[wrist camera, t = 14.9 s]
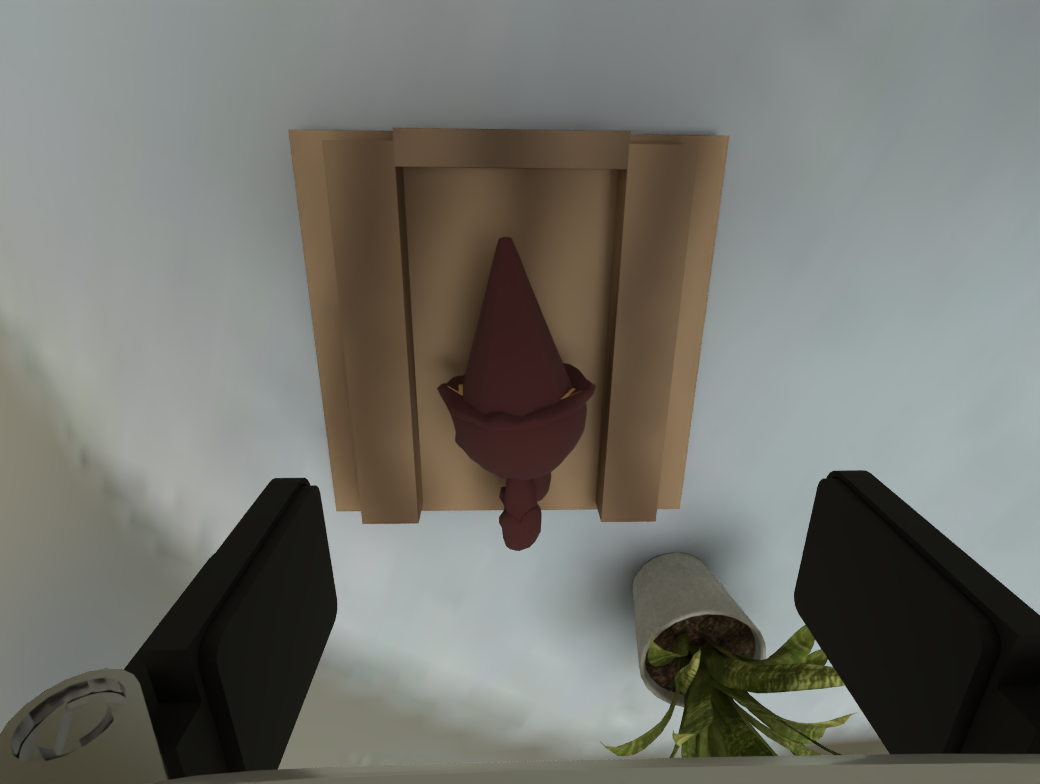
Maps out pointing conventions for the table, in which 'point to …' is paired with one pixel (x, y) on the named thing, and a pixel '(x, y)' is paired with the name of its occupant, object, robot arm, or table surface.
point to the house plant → (717, 666)
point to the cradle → (461, 289)
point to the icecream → (516, 398)
